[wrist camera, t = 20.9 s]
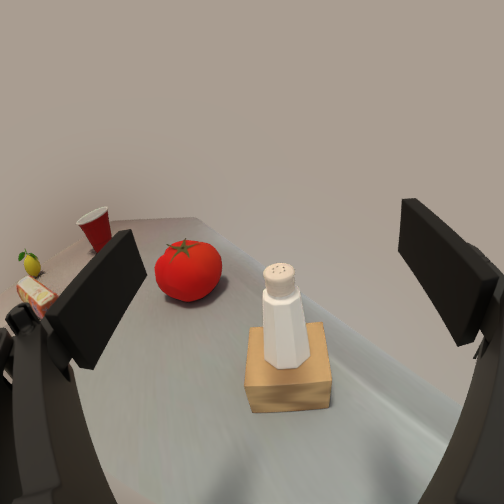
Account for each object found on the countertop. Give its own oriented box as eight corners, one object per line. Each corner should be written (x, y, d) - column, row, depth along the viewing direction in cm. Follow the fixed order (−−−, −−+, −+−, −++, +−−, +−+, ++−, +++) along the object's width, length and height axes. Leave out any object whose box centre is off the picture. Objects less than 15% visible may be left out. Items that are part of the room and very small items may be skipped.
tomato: (161, 286, 57) (146, 242, 52) (219, 269, 60) (209, 224, 55) (166, 319, 48) (147, 270, 43) (235, 298, 50) (224, 247, 46)
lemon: (27, 279, 70) (14, 252, 65) (40, 270, 74) (28, 243, 69) (33, 283, 67) (19, 254, 62) (46, 273, 71) (34, 245, 66)
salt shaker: (317, 339, 31) (316, 257, 26) (302, 375, 27) (298, 292, 22) (274, 331, 34) (263, 251, 29) (254, 363, 30) (237, 282, 24)
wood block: (321, 352, 37) (322, 321, 34) (328, 407, 29) (332, 380, 26) (256, 357, 38) (249, 327, 35) (252, 412, 30) (243, 386, 27)
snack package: (71, 314, 52) (57, 289, 48) (49, 332, 47) (34, 306, 43) (41, 292, 62) (30, 271, 58) (24, 305, 57) (12, 284, 53)
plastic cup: (90, 248, 82) (78, 214, 76) (120, 238, 85) (109, 203, 79) (87, 262, 73) (72, 225, 67) (119, 251, 76) (106, 212, 70)
